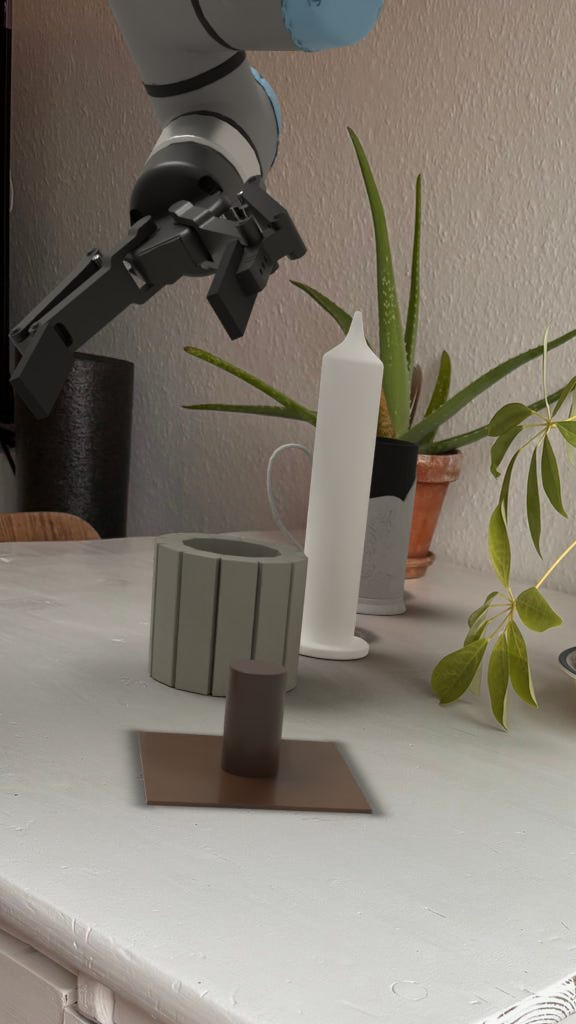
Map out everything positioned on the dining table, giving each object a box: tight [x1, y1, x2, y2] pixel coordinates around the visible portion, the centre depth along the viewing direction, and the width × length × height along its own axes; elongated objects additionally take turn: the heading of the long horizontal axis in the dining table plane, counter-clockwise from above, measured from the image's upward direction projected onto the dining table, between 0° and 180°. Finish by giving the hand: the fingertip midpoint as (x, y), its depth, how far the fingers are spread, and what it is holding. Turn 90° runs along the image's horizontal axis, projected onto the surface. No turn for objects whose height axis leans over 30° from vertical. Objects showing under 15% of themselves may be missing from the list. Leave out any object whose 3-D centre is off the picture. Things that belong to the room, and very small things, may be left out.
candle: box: [299, 310, 385, 661], centre depth 98 cm, size 7×7×25 cm
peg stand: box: [137, 660, 373, 814], centre depth 67 cm, size 11×11×7 cm
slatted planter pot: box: [147, 532, 308, 698], centre depth 88 cm, size 10×10×9 cm
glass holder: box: [266, 435, 420, 616], centre depth 117 cm, size 9×14×15 cm, turn 113°
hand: (123, 359), depth 74 cm, fingers open, 13 cm apart
